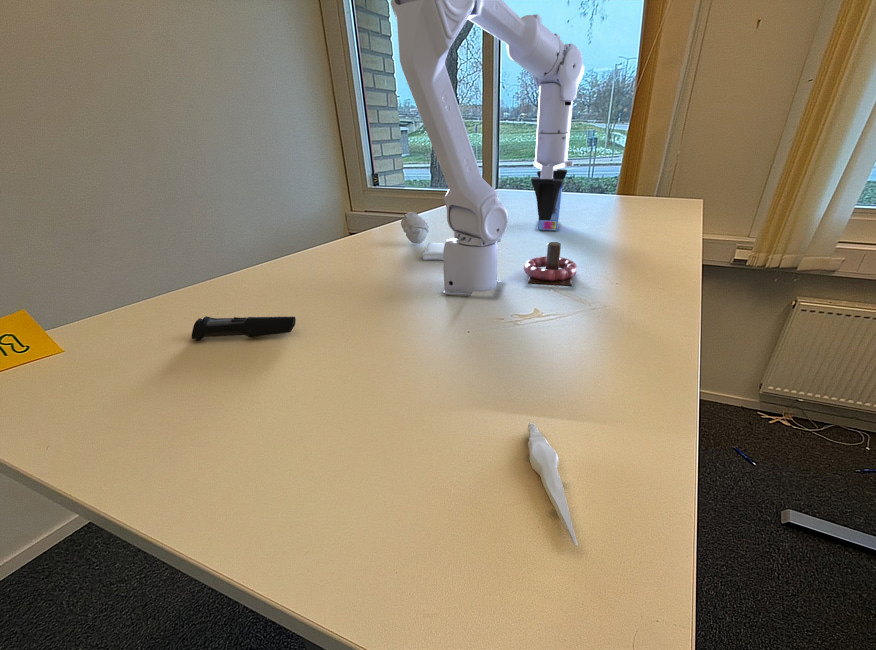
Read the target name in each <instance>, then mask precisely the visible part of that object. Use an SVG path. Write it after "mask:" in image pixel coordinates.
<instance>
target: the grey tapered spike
mask: <svg viewBox="0 0 876 650" xmlns="http://www.w3.org/2000/svg"><path fill="white" fill-rule="evenodd" d="M527 432H528V434H529V436H528V442H527V448H528V451H529V454H528V455H529V462H530V465H531V468H532V469H533V470H534V471H535V472H536V473H537V474H538V475H539V476H540V481H541V484H542V486H543V488H544V490H545V492H546V494H547V496H548V498H549V500H550V502H551V504H552V505H553V508H554V509H555V512H556V514H557V516H558V518H559V520H560V522H561V524H562V526H563V528H564V529H565V531H566V533H567V535H568V537H569V538H570V541H571V542H572V544H573V546H575V547H578V545H579V544H578V541H577V537H576V533H575V530H574V524H573V521H572V517H571V513H570V509H569V505H568V502H567V496H566V492H565V489H564V484H563V481H562V479H561V476H560V472H559V470H558V469H559V468H558V467H559V463H560V462H559V461H560V458H559V455H558V453H557V452H556V450H555V449H554V448H553V447H552V446H551V444H550V443H549V441H548V440H547V439H546V437H545V436H544V435H543V434H542V433H541V432H540V431H539V429H538V426H537V425H536V423H535V422H530V423H528V426H527Z"/></svg>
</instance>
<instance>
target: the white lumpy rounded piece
mask: <svg viewBox="0 0 876 650" xmlns="http://www.w3.org/2000/svg"><path fill="white" fill-rule="evenodd" d="M400 225H401V228H402V230H403V232H404V233H405V237H406V238H407V239H408V241H409V242H411V243H412V244H416V245H417V244H421V243H423V242H424V241H425V240H426V239H427V236H428V233H429V227H430V226H429V225H428V222H427V221H426V220H425V218H423V217H422V216H421V215H419V214H418V213H417V212H415V211H410V212H407V213H405V214H404V215H403V217H402V218H401V221H400Z"/></svg>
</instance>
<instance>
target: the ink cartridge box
mask: <svg viewBox="0 0 876 650" xmlns="http://www.w3.org/2000/svg"><path fill="white" fill-rule="evenodd" d="M563 186H564V182H563V183H562V185H561V187H560V190H559V194H558V198H557V203H556V206H555V209H554V211H553V214H552V217H551V220H539V217H538V218H537V219H538V220H537V230H538V231H549V232H550V231H552V232H557V231H558V227H559V220H560V213H561V204H562V196H563V195H562V194H563Z"/></svg>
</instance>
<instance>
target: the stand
mask: <svg viewBox="0 0 876 650" xmlns="http://www.w3.org/2000/svg"><path fill="white" fill-rule="evenodd" d="M561 249H562V243H561V242H559V241H550V242H548V243H547V249H546V256H547V260H546V267H545V269H549V270H557V269H560V268H559V260H560V257H561ZM540 268H541V269H543V267H540ZM573 279H574V276H573V277H571V278H568V279H566V280H559V281H546V280H538V279H535V278H532V277H530V276H529V278H528V282H527V284H528V285H538V286H541V285H542V286H555V287H569V288H570V287H571V288H572V287H573Z"/></svg>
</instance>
